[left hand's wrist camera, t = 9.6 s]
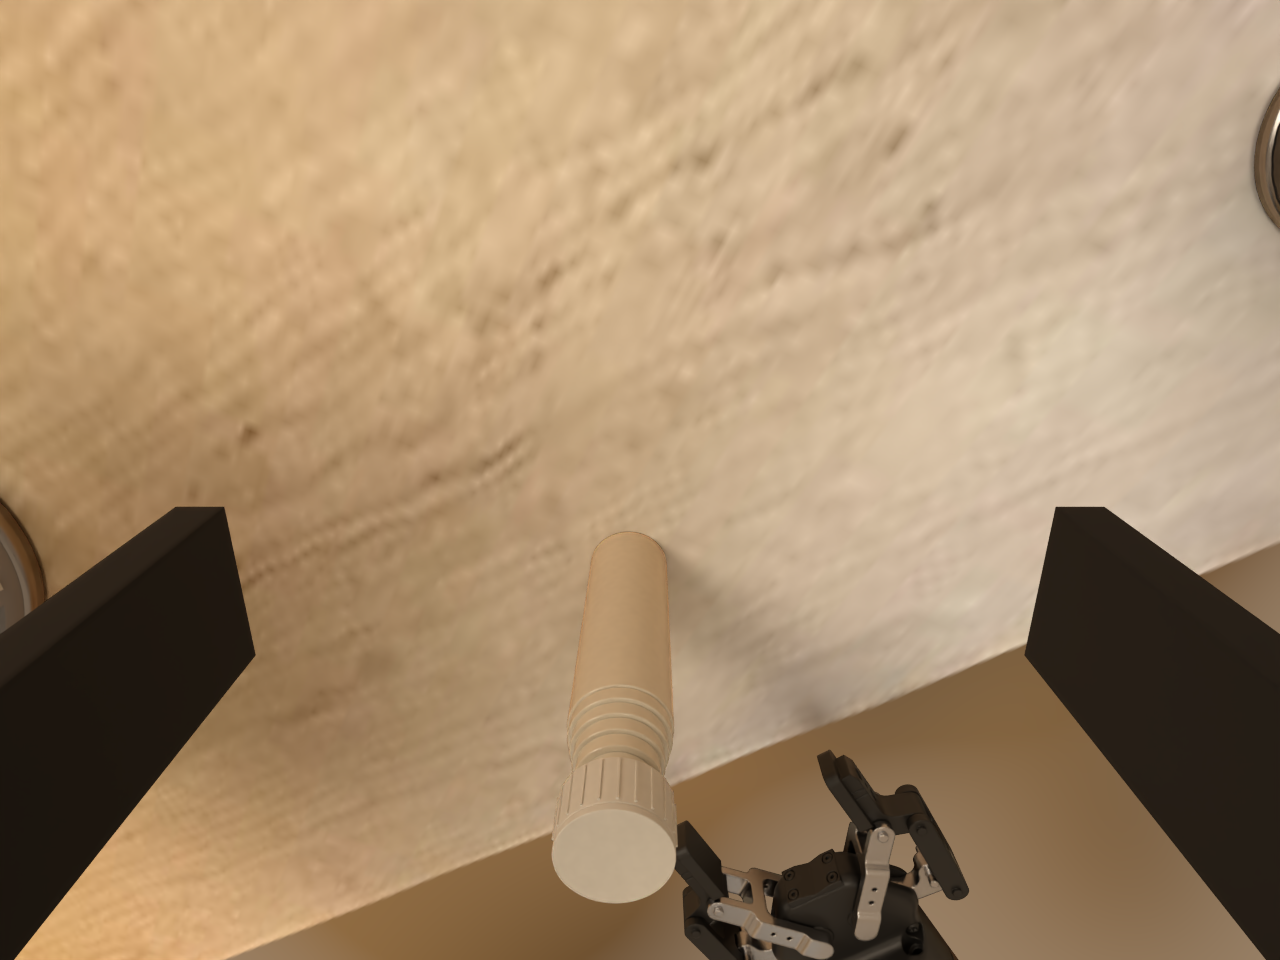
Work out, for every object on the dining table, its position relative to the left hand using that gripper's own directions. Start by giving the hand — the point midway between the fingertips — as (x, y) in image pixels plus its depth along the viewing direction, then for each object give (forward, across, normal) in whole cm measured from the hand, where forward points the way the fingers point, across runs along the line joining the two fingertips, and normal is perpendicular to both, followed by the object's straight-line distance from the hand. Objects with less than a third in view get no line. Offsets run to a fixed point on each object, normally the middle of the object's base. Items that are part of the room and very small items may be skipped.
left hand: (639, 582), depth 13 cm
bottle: (+26, +1, +14) cm, 30 cm away
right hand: (+20, -6, +23) cm, 31 cm away
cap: (+7, +1, +14) cm, 16 cm away
